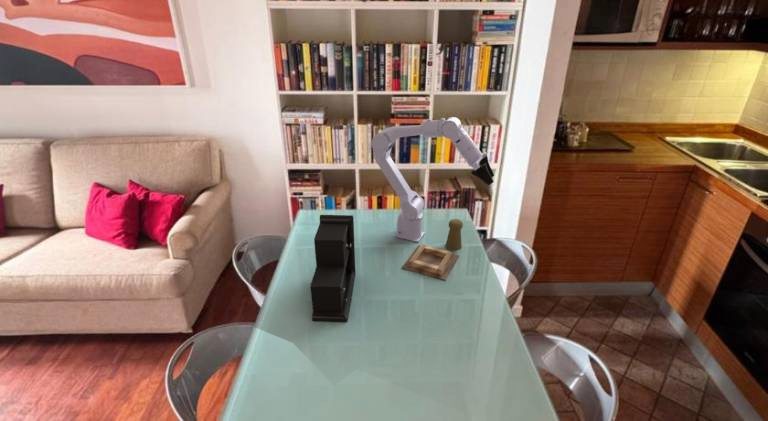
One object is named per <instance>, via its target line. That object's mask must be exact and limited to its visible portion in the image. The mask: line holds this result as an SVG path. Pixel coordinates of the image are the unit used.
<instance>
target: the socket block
mask: <svg viewBox="0 0 768 421" xmlns="http://www.w3.org/2000/svg"><path fill="white" fill-rule="evenodd" d="M459 258H460V254H459V255H458V254H456V253H454V252H453V251H450V250H446V249H442V248H438V247H434V246H430V245H427V244H422V243H421V245H420V244H418V245H417V246H416V248H415V249H414V251H413V252H412V253H411V255H410V256H409V257H408V259H406V261H405V262H404V263H403V265H402V266H401V269H403V270H407V271H409V272H414V273H418V274H421V275H423V276H428V277H431V278H435V279H437V280H442V281H447V279H448V277H449V275H450V274H451V271H452V270H453V268H454V266H455V264H456V263H457V261H458V259H459Z"/></svg>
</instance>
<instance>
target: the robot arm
mask: <svg viewBox="0 0 768 421" xmlns="http://www.w3.org/2000/svg"><path fill="white" fill-rule="evenodd" d="M462 126H463V125H462V121H461V119H459V118H458V117H456V116H449V117H448V118H445V117H442V118H441V119H434V120H432V118H427V119H426V120H424V121H423V122H422V123H421V124H418V125H417V124H415V125H393V126H388V127H384V128H383V129H382V130H381V131H379V132H378V133H376V134H375V135H373V137H372V139H371V140H372V141H371V143H370V147H372V150H373V157H374V160H375V162H376V163H377V165H378V166H379V169H380V170H381V171H382V173H383V175H384V176H385V177H386V179H387V181H388V183H389V185H390V186H391V187H392V188H393V190H394V192H395V193H396V195H397V197H398V198H399V207H400V209H401V212H400V213H399V215H398V217H397V222H396V235H395V237H396V238H400V239H404V240H407V241H410V242H411V241H412V242H415V243H419V242H420V240H421V239H422V237H423V236H424V235H425V234H426V231H423V216H424V215H423V211H422V210H423V209H424V208H425V206H426V203H425V199H424V198H422V196H419V194H418V193H417V192H416V191H415V190H412V189H411V187H410V186H409V184H408V182H407V181H406V179H405V178H404V176H403V174H402V173H401V171H400V170H399V168H398V167H397V165H396V164H395V162H394V160H393V159H392V157H391V151H392V148H393V146H394V145H395V143H396V141H397V140H398V139H400V138H405V137H406V138H407V137H413V136H422V137H423V138H425V139H428V138H441V137H442V138H443V137H444V138H445V139H449V141H450V142H451V143H452V144H453V145H454V147H455V149H456V150H457V151H458V153H459V154H460V155H461V157H462V158H463V159H464V161H466V163H467V164H468V165H467V166H468V167H470V168H472V169H473V170H472V171H470V174H472V176H476V177H477V178H478V179H480V180H481V181H482V182H483V183H485V184H486V185H487V186H490V185H491V184H493V183H494V179H493V177H495V173H494V171H493V169H492V167H491V164H490V162H489V158H488V156H487V152H486V151H483V153H482V152H481V150H480V148H479V147H478V146H477V145H476V144H475V142H474V141H473V139H472V138H471V137H470V135H469V134H468V132H466V130H465V129H464V127H462Z"/></svg>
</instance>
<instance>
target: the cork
mask: <svg viewBox="0 0 768 421" xmlns="http://www.w3.org/2000/svg"><path fill="white" fill-rule="evenodd" d="M463 226H464V224H463V221H462V220H461V219H457V218H453V219H450V220H449V222H448V228H449V229H448V234H447V237H446V242H445V247H446V248H447V249H448V250H449V251H450V250H451V251H459V250H460V249H462V229H463Z"/></svg>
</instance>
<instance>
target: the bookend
mask: <svg viewBox="0 0 768 421" xmlns="http://www.w3.org/2000/svg"><path fill="white" fill-rule="evenodd" d="M354 224H355V221H354V215H351V214H348V215H346V214H342V215H341V214H320V215H319V225H318V228H317V230H316V233H315V235H314V238H313V240H314V244H313V245H314V254H315V264H316V266H315V270H314V273H313V277H312V280H311V282H310V295H311V304H312V315H311V321H312V322H329V323H330V322H331V323H333V322H334V323H348V321H349V314H350V310H351V306H352V305H351V303H352V299H353V298H352V297H353V291H354V286H355V280H356V279H355V278H356V254H355V252H356V250H355V249H356V248H355V227H354Z"/></svg>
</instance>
